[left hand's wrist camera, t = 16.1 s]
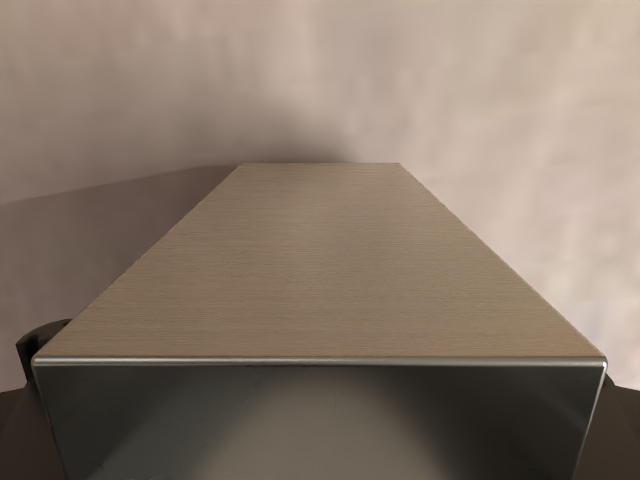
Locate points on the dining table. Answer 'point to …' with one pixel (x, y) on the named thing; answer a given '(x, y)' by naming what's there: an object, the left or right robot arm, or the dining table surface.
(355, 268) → the box
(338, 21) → the dining table surface
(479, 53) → the dining table surface
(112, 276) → the dining table surface
